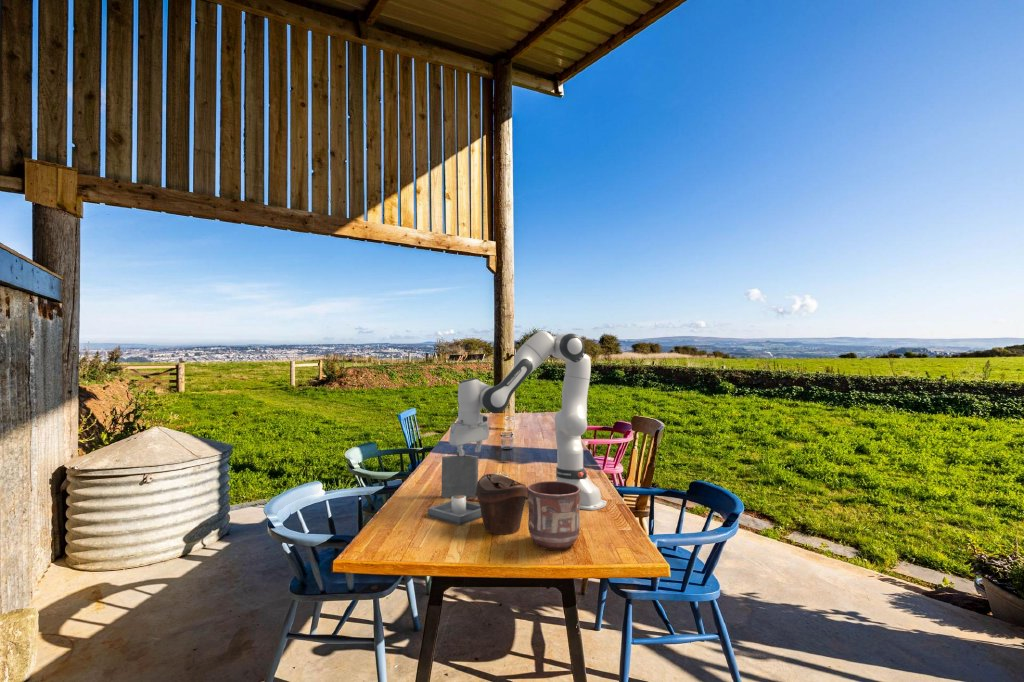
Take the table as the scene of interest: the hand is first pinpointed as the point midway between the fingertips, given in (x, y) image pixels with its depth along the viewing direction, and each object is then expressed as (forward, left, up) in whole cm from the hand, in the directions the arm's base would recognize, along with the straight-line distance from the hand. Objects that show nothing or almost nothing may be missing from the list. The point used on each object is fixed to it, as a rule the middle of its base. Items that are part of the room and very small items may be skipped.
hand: (469, 453), depth 190 cm
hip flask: (+18, -13, -23) cm, 31 cm away
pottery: (-45, +9, -23) cm, 52 cm away
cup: (-1, +7, -21) cm, 22 cm away
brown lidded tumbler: (-23, +8, -23) cm, 34 cm away
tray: (-1, +7, -22) cm, 23 cm away
